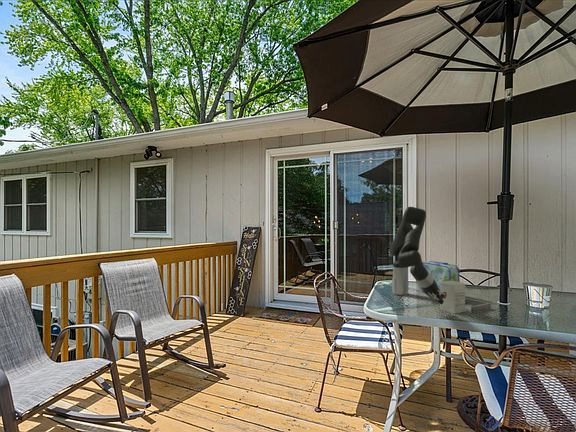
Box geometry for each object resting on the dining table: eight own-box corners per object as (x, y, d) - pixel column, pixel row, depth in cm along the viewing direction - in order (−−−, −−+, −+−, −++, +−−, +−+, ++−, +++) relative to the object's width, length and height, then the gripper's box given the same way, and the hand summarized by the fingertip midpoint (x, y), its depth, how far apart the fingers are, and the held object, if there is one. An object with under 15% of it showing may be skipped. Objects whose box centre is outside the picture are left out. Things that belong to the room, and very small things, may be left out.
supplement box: (439, 309, 183) (439, 281, 183) (450, 307, 187) (450, 280, 187) (454, 314, 175) (454, 284, 175) (465, 311, 179) (465, 282, 179)
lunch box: (462, 297, 211) (462, 263, 211) (450, 299, 206) (450, 264, 206) (428, 289, 234) (428, 258, 235) (417, 291, 230) (416, 259, 230)
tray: (473, 313, 177) (473, 307, 177) (444, 306, 191) (444, 300, 191) (490, 308, 185) (490, 303, 185) (462, 302, 199) (462, 297, 199)
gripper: (441, 277, 166) (456, 299, 172) (418, 273, 178) (433, 294, 184) (433, 289, 164) (450, 311, 170) (411, 284, 175) (427, 305, 181)
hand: (441, 302), depth 177 cm, fingers closed
